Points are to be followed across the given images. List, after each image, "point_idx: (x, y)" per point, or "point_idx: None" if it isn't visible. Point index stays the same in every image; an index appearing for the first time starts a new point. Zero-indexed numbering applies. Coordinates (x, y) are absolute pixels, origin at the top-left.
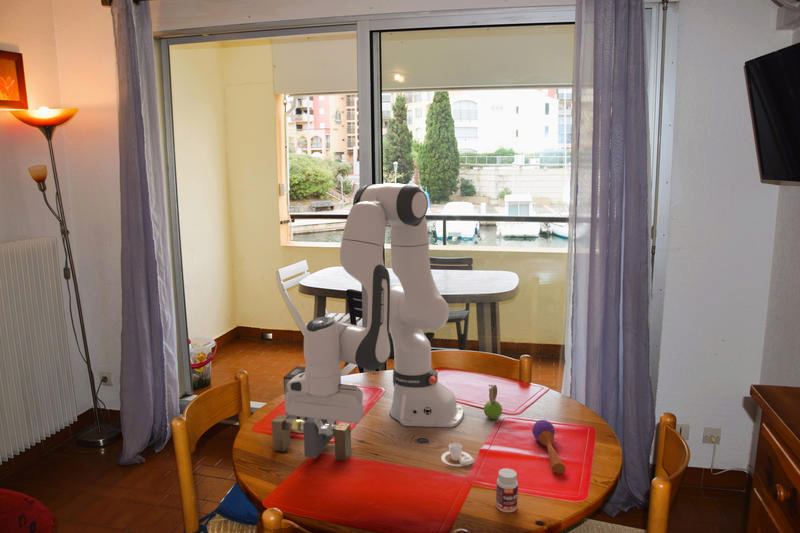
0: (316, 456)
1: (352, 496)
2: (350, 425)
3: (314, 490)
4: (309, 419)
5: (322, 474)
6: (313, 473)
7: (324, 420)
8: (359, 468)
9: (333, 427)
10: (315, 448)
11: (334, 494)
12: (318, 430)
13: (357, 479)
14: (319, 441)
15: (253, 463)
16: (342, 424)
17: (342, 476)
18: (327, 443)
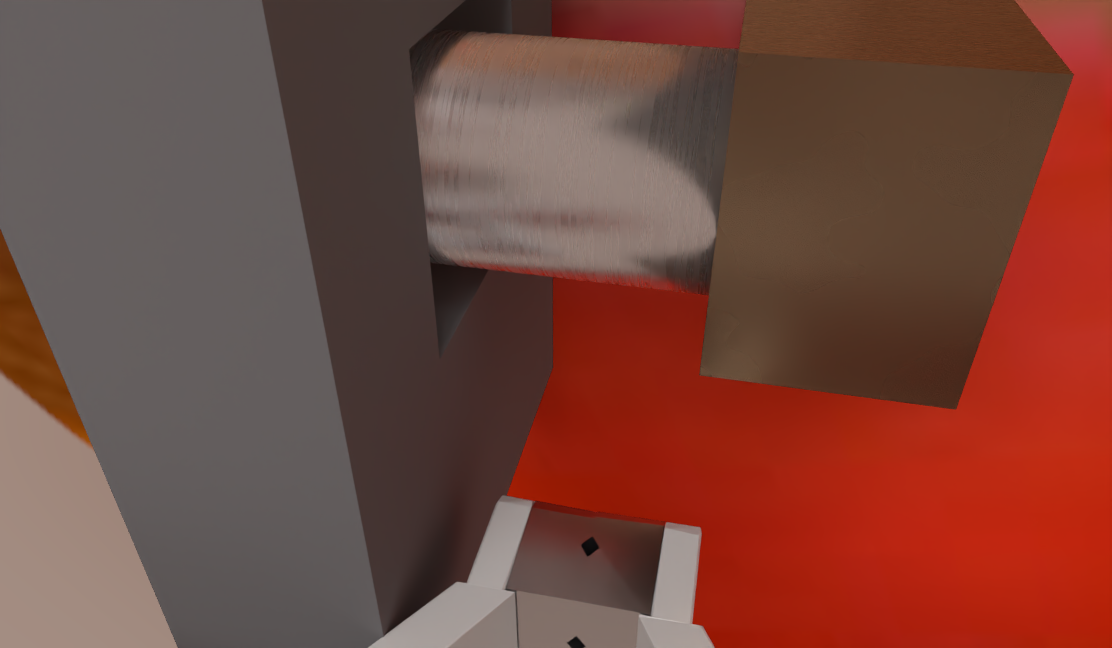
0: (551, 351)
1: (1050, 644)
2: (1059, 60)
3: (702, 585)
4: (185, 601)
5: (688, 401)
6: (596, 394)
7: (402, 317)
8: (1102, 266)
9: (653, 276)
10: (523, 439)
11: (883, 623)
12: (454, 506)
13: (1085, 451)
14: (510, 351)
15: (23, 305)
16: (839, 150)
17: (906, 417)
18: (548, 8)
